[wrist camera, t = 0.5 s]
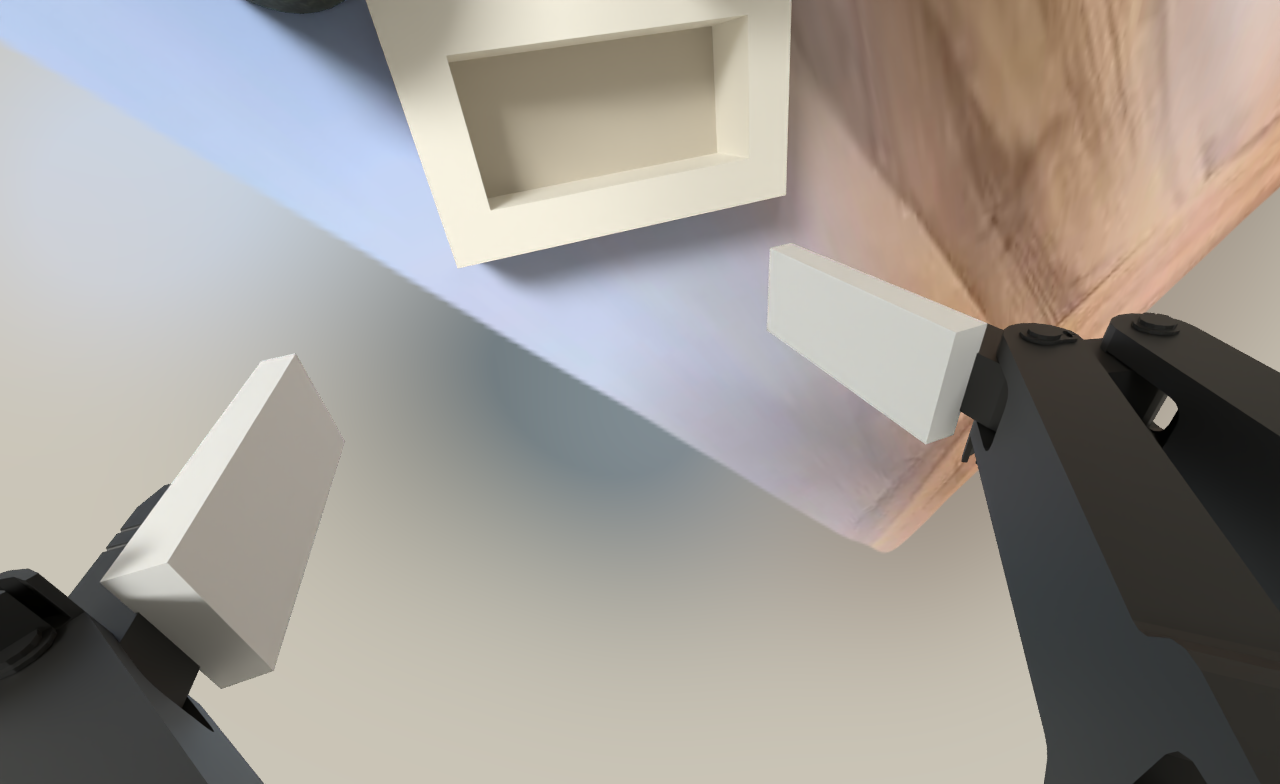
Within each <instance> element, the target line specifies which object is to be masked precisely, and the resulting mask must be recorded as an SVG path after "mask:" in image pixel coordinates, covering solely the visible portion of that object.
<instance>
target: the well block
mask: <svg viewBox="0 0 1280 784" xmlns="http://www.w3.org/2000/svg"><path fill="white" fill-rule="evenodd" d="M366 3H367V6H368V9H369V12H370V14H371V17H372V20H373V23H374V26H375V29H376V32H377V35H378V38H379V41H380V44H381V46H382V49H383V52H384V55H385V58H386V61H387V64H388V67H389V70H390V73H391V76H392V79H393V81H394V84H395V87H396V90H397V93H398V96H399V99H400V102H401V105H402V108H403V111H404V113H405V116H406V119H407V122H408V125H409V128H410V131H411V134H412V137H413V140H414V143H415V145H416V148H417V151H418V154H419V157H420V160H421V163H422V166H423V169H424V172H425V175H426V177H427V180H428V183H429V186H430V189H431V192H432V195H433V198H434V201H435V204H436V207H437V209H438V212H439V215H440V218H441V221H442V224H443V227H444V230H445V233H446V236H447V239H448V241H449V244H450V247H451V250H452V253H453V256H454V259H455V262H456V265H457V268H462V267H466V266H471V265H475V264H480V263H484V262H489V261H493V260H498V259H502V258H507V257H511V256H516V255H520V254H524V253H529V252H533V251H538V250H542V249H547V248H551V247H556V246H560V245H565V244H569V243H574V242H578V241H583V240H587V239H592V238H596V237H601V236H605V235H610V234H614V233H619V232H623V231H628V230H632V229H636V228H641V227H645V226H650V225H654V224H659V223H663V222H668V221H672V220H677V219H681V218H686V217H690V216H695V215H699V214H704V213H708V212H713V211H717V210H722V209H726V208H731V207H735V206H739V205H744V204H748V203H753V202H757V201H762V200H766V199H771V198H775V197H780V196H784V195H786V175H787V141H788V106H789V72H790V37H791V3H792V0H366Z"/></svg>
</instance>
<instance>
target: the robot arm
mask: <svg viewBox="0 0 1280 784" xmlns="http://www.w3.org/2000/svg"><path fill="white" fill-rule="evenodd" d="M767 331H769V332H770V333H771V334H773V335H774V336H776V337H777V338H778V339H780V340H781V341H783V342H784V343H785V344H787V345H788V346H789V347H791V348H792V349H794V350H795V351H796V352H798V353H799V354H801V355H802V356H803V357H805V358H806V359H808V360H809V361H810V362H812V363H813V364H815V365H816V366H817V367H819V368H820V369H821V370H823V371H824V372H826V373H827V374H828V375H830V376H831V377H833V378H834V379H835V380H837V381H838V382H840V383H841V384H842V385H844V386H845V387H846V388H848V389H849V390H851V391H852V392H853V393H855V394H856V395H858V396H859V397H860V398H862V399H863V400H865V401H866V402H867V403H869V404H870V405H872V406H873V407H874V408H876V409H877V410H878V411H880V412H881V413H883V414H884V415H885V416H887V417H888V418H890V419H891V420H892V421H894V422H895V423H897V424H898V425H899V426H901V427H902V428H904V429H905V430H906V431H908V432H909V433H910V434H912V435H913V436H915V437H916V438H917V439H919V440H920V441H922V442H923V443H924V444H928V443H931V442H934V441H937V440H940V439H943V438H946V437H949V436H952V435H954V431H955V428H956V425H957V422H958V418H959V415H960V412H962V413H964V414H966V415H967V416H969V417H971V418H972V419H974V422H973V425H972V428H971V431H970V434H969V437H968V440H967V443H966V446H965V449H964V452H963V455H962V461H961V462H968V459H969V456H970V455H972V454H974V453H975V457H976V464H977V465H978V469H979V472H980V477H981V481H982V485H983V489H984V493H985V497H986V501H987V505H988V509H989V513H990V517H991V521H992V525H993V529H994V533H995V536H996V541H997V544H998V549H999V553H1000V557H1001V561H1002V565H1003V569H1004V573H1005V577H1006V581H1007V585H1008V589H1009V593H1010V597H1011V601H1012V604H1013V608H1014V613H1015V617H1016V621H1017V625H1018V629H1019V633H1020V637H1021V641H1022V645H1023V649H1024V653H1025V657H1026V661H1027V665H1028V669H1029V673H1030V677H1031V681H1032V685H1033V689H1034V693H1035V697H1036V701H1037V705H1038V709H1039V713H1040V717H1041V721H1042V725H1043V729H1044V733H1045V738H1046V744H1047V765H1046V773H1045V780H1044V784H1280V373H1279V372H1277V371H1276V370H1274V369H1272V368H1270V367H1268V366H1266V365H1265V364H1263V363H1261V362H1259V361H1257V360H1255V359H1254V358H1252V357H1250V356H1248V355H1246V354H1244V353H1243V352H1241V351H1239V350H1237V349H1235V348H1233V347H1231V346H1230V345H1228V344H1226V343H1224V342H1222V341H1221V340H1218V339H1217V338H1215V337H1213V336H1211V335H1209V334H1208V333H1206V332H1204V331H1202V330H1200V329H1198V328H1197V327H1195V326H1193V325H1190V324H1188V323H1185V322H1183V321H1180V320H1177V319H1173V318H1171V317H1169V316H1167V315H1162V314H1154V313H1143V314H1133V313H1131V314H1123V315H1118V316H1116V317H1114V318H1112V319H1111V321H1110V323H1109V326H1108V328H1107V330H1106V332H1105V334H1104V337H1103V338H1100V339H1088V340H1083V339H1082V338H1081V337H1080V336H1078V335H1077V334H1076V333H1074V332H1072V331H1070V330H1066V329H1064V328H1060V327H1056V326H1052V325H1046V324H1037V323H1020V324H1015V325H1011V326H1009V327H1007V328H1006V329H1004V330H1002V329H999V328H997V327H994V326H992V325H990V324H988V323H985V322H983V321H981V320H978V319H976V318H973V317H971V316H968V315H966V314H963V313H961V312H959V311H956V310H954V309H951V308H949V307H946V306H944V305H942V304H939V303H937V302H934V301H932V300H929V299H927V298H925V297H922V296H920V295H917V294H915V293H912V292H910V291H908V290H905V289H903V288H900V287H898V286H895V285H893V284H890V283H888V282H886V281H883V280H881V279H878V278H876V277H873V276H871V275H869V274H866V273H864V272H861V271H859V270H856V269H854V268H852V267H849V266H847V265H844V264H842V263H839V262H837V261H835V260H832V259H830V258H827V257H825V256H822V255H820V254H817V253H815V252H813V251H810V250H808V249H805V248H803V247H800V246H798V245H796V244H793V243H790V244H785V245H781V246H776V247H772V248H770V258H769V285H768V312H767ZM1167 396H1169V397H1171V398H1172V400H1173V401H1174V402H1175V403H1176V405H1177V407H1178V411H1177V412H1176V414H1175V416H1174V417H1173V419H1172V421H1171V422H1170V424H1169V425H1168V426H1167V427H1166V428H1165V429H1164V430H1163V429H1162V428H1160V427H1159V426H1157V425H1156V424H1155V423H1154V422H1153V420H1154V418H1155V417H1156V415H1157V413H1158V411H1159V410H1160V408H1161V406H1162V404H1163V403H1164V401H1165V399H1166V398H1167ZM344 443H345V440H344V438H343V437H342V435H341V433H340V431H339V430H338V428H337V426H336V424H335V422H334V421H333V419H332V417H331V415H330V413H329V412H328V410H327V408H326V406H325V405H324V403H323V401H322V399H321V397H320V396H319V394H318V392H317V390H316V389H315V387H314V385H313V383H312V381H311V380H310V378H309V376H308V374H307V372H306V371H305V369H304V367H303V365H302V363H301V362H300V360H299V358H298V356H297V355H296V353H295V354H291V355H286V356H281V357H277V358H272V359H268V360H264V361H261V362H260V363H259V365H258V366H257V367H256V369H255V370H254V371H253V373H252V374H251V376H250V377H249V378H248V380H247V381H246V382H245V384H244V385H243V387H242V388H241V389H240V391H239V392H238V393H237V395H236V396H235V397H234V399H233V400H232V402H231V403H230V404H229V406H228V407H227V408H226V410H225V411H224V413H223V414H222V415H221V417H220V418H219V419H218V421H217V422H216V424H215V425H214V426H213V428H212V429H211V430H210V432H209V433H208V435H207V436H206V437H205V439H204V440H203V441H202V443H201V444H200V445H199V447H198V448H197V450H196V451H195V452H194V454H193V455H192V456H191V458H190V459H189V460H188V462H187V463H186V465H185V466H184V467H183V469H182V470H181V471H180V473H179V474H178V476H177V477H176V478H175V480H174V481H173V482H172V484H168V485H164V486H163V487H162V488H161V489H159V490H158V491H157V492H156V493H155V494H153V495H152V496H151V497H150V498H148V499H147V500H146V501H145V502H143V503H142V504H141V505H140V506H138V507H137V508H136V510H135V511H134V512H133V514H132V515H131V516H130V517H129V519H128V520H127V521H126V523H125V524H124V525H123V527H122V528H121V533H118V534H116V536H115V537H114V538H113V540H112V541H111V542H110V543H109V545H108V546H107V547H106V549H107V551H106V552H103V553H102V554H101V555H100V556H99V558H98V559H97V560H96V562H95V563H94V564H93V565H92V567H91V568H90V569H89V571H88V572H87V573H86V575H85V576H84V577H83V578H82V580H81V581H80V582H79V584H78V585H77V586H76V587H75V589H74V590H73V591H72V593H71V594H70V595H69V596H68V597H67V596H66V595H64V594H63V593H62V592H61V591H60V590H58V589H57V588H56V587H55V586H53V585H52V584H51V583H49V582H48V581H47V580H46V579H45V578H44V577H42V576H41V575H40V574H39V573H37V572H34V571H32V570H30V569H20V570H12V571H6V572H3V573H1V574H0V784H264V783H263V782H262V781H261V779H260V778H259V777H258V776H257V774H256V773H255V772H254V771H253V769H252V768H251V767H250V766H249V764H248V763H247V762H246V761H245V759H244V758H243V757H242V756H241V754H240V753H239V752H238V751H237V750H236V748H235V747H234V746H233V745H232V743H231V742H230V741H229V740H228V739H227V737H226V736H225V735H224V733H223V732H222V731H221V730H220V728H219V727H218V726H217V725H216V723H215V722H214V721H213V720H212V718H211V717H210V716H209V715H208V714H207V712H206V711H205V710H204V709H203V707H202V706H201V705H200V704H199V703H197V702H196V701H195V700H194V699H192V698H191V697H190V696H189V695H188V694H189V691H190V689H191V687H192V685H193V682H194V680H195V678H196V676H197V673H198V671H199V670H200V671H201V672H203V673H204V674H205V675H206V676H207V677H208V678H209V679H210V680H212V681H213V682H214V683H215V684H216V685H217V686H218V687H220V688H221V689H222V688H225V687H228V686H231V685H234V684H237V683H239V682H243V681H245V680H248V679H251V678H254V677H257V676H260V675H263V674H266V673H268V672H271V671H274V668H275V665H276V661H277V658H278V655H279V652H280V649H281V645H282V642H283V639H284V636H285V632H286V629H287V626H288V623H289V620H290V617H291V613H292V610H293V607H294V604H295V600H296V597H297V594H298V591H299V587H300V584H301V581H302V578H303V575H304V571H305V568H306V565H307V562H308V559H309V555H310V552H311V549H312V546H313V542H314V539H315V536H316V533H317V529H318V526H319V523H320V520H321V517H322V513H323V510H324V507H325V504H326V500H327V497H328V494H329V491H330V487H331V484H332V481H333V478H334V475H335V471H336V468H337V465H338V462H339V459H340V455H341V452H342V449H343V446H344Z"/></svg>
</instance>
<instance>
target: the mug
mask: <svg viewBox="0 0 1280 784" xmlns="http://www.w3.org/2000/svg"><path fill="white" fill-rule="evenodd" d="M247 1H249V2H252V3H254V4H257V5H260V6H262V7H265V8H268V9H272V10H277V11H281V12H286V13H299V14H304V13H314V12H320V11H323V10H326V9H330V8H332V7H334V6H336V5H338V4H340V3H341V2H343V1H345V0H247Z"/></svg>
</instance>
